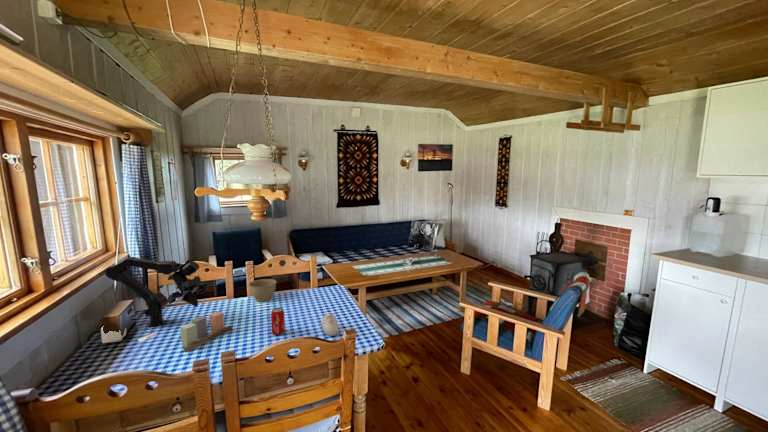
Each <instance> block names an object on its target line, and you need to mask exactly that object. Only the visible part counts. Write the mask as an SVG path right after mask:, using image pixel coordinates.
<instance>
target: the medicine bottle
mask: <svg viewBox="0 0 768 432" xmlns="http://www.w3.org/2000/svg"><path fill="white" fill-rule="evenodd" d="M100 335H101V343H102V344H108V343H113V342H114V343H115V342H121V341H122V340H123V339H124V338H123V337H125V336H126V335H127V327H126V328H125V330H124V334H123V336H122V335H121V331H120V330H119V332H116V331H114V332H113V331H109V332H108V333H106V334H105V333H104V331H103V327H101V329H100Z"/></svg>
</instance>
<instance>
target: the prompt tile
mask: <svg viewBox="0 0 768 432" xmlns="http://www.w3.org/2000/svg"><path fill="white" fill-rule="evenodd" d="M157 335H158V334H157V333H154V332H153V333H151V334H147V335H145V336H143V337H140V338H139V339H137V342H139V343H140V342H141V343H142V342H143V341H145V340H148V339H151V338H153V337H155V336H157Z"/></svg>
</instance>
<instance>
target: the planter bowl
mask: <svg viewBox="0 0 768 432" xmlns="http://www.w3.org/2000/svg"><path fill="white" fill-rule="evenodd" d="M248 287H249V292H250V294H251V296H252V297H253V298H254V300H255V301H256V302H257V303H260V302H268V301H270V300H272V297H273V295H274V294H275V291H276V287H277V280H276V279H271V278H263V279H262V278H261V279H256V280H253V281H251V282H249V283H248Z"/></svg>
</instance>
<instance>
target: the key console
mask: <svg viewBox="0 0 768 432" xmlns="http://www.w3.org/2000/svg"><path fill="white" fill-rule="evenodd" d="M232 330H233V326H232V325H230V324H229V325H227V326H226V327H225V326H224V328H223V329H221V330H219V331H217V332H215V333H211V334H209V335H208V334H207V336H205V337H203V338H201V339H199V340H198V339H197V341H196V342H194V343H192V344H190V345H188V346H185V347H183V352H184V353H188V352H190V351H192V350H194V349H196V348H198V347H201V346H202V345H204V344H206V343H208V342H210V341H212V340H213V339H214V340H215V339H216V338H218V337H221V336H222V335H224V334H226V333H228V332H230V331H232Z"/></svg>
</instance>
